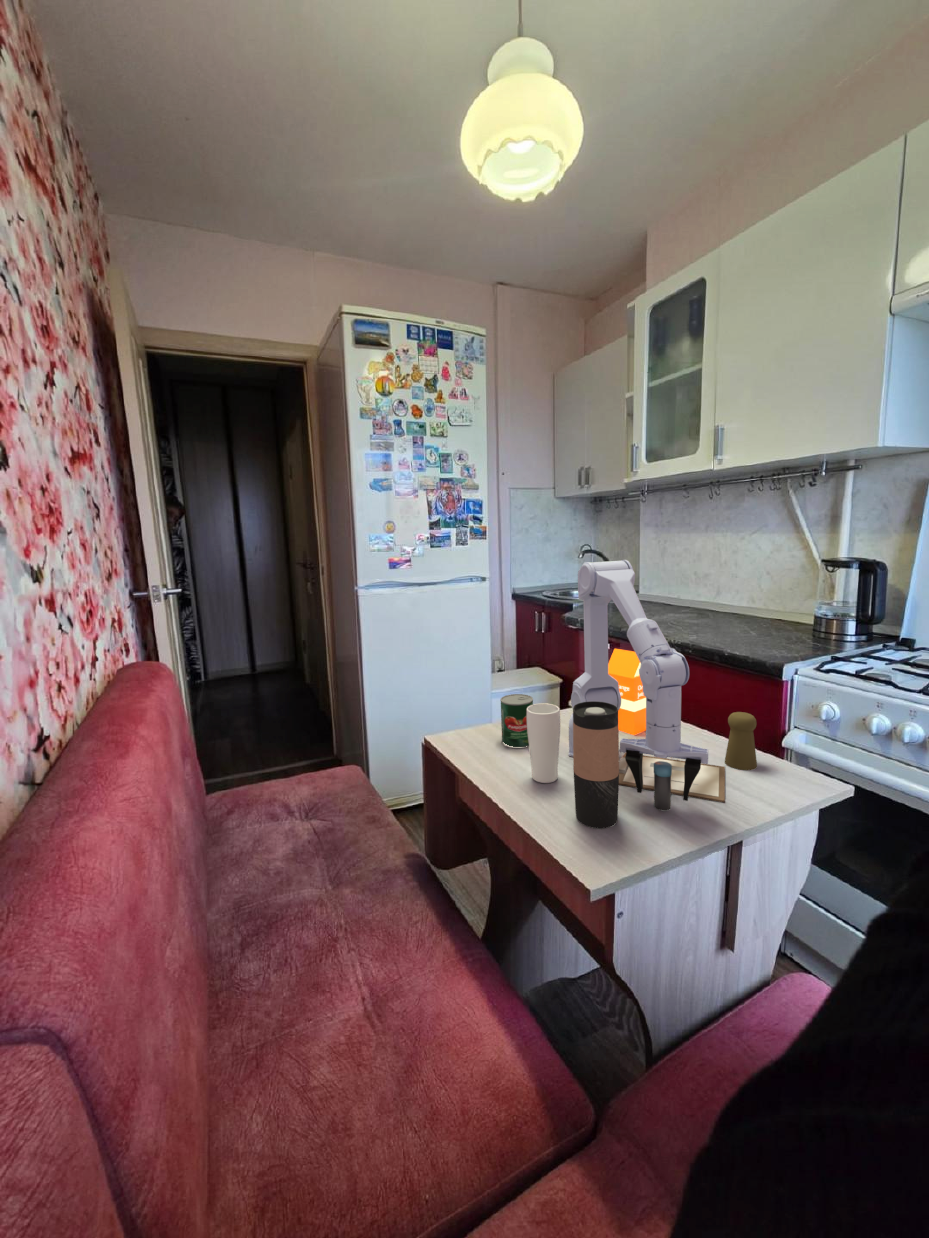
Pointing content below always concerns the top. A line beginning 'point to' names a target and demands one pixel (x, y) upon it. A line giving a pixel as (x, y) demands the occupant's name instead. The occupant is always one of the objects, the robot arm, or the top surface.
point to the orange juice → (629, 691)
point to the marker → (662, 785)
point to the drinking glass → (543, 741)
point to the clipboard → (679, 778)
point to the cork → (741, 742)
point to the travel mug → (596, 763)
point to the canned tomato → (515, 719)
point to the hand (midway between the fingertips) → (662, 794)
